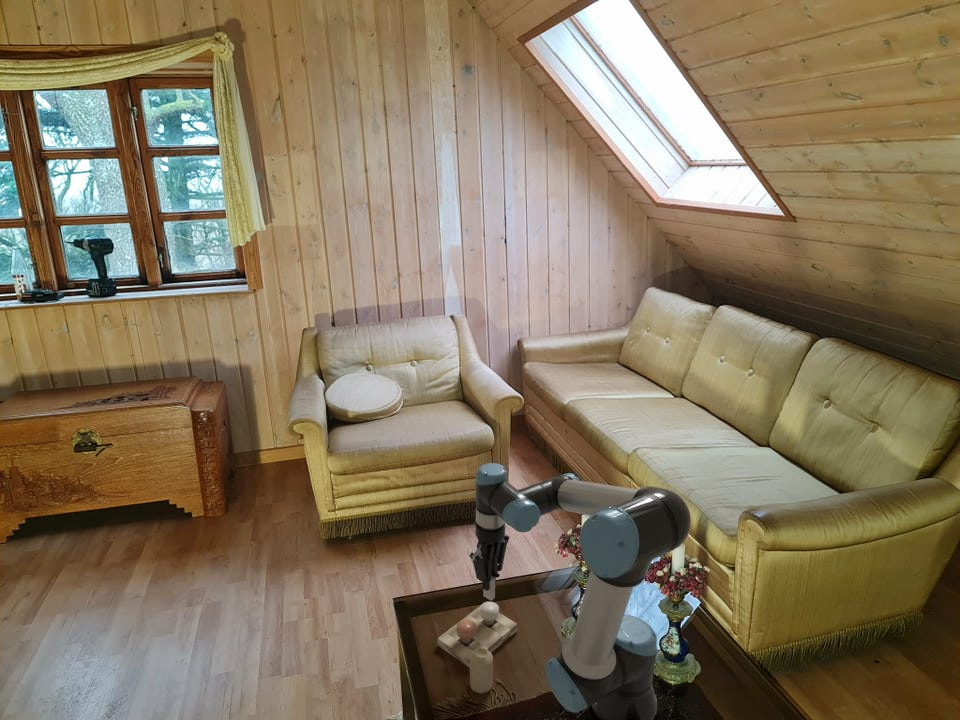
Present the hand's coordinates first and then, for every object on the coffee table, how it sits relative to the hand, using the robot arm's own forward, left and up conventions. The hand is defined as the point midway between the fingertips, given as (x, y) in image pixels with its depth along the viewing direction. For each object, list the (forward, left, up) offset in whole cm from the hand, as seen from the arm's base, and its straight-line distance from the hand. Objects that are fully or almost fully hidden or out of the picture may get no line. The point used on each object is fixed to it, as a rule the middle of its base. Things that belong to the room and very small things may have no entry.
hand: (488, 596), depth 188 cm
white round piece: (0, 0, -8) cm, 8 cm away
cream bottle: (-11, +16, -11) cm, 22 cm away
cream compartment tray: (0, +5, -10) cm, 11 cm away
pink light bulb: (0, +9, -8) cm, 12 cm away
